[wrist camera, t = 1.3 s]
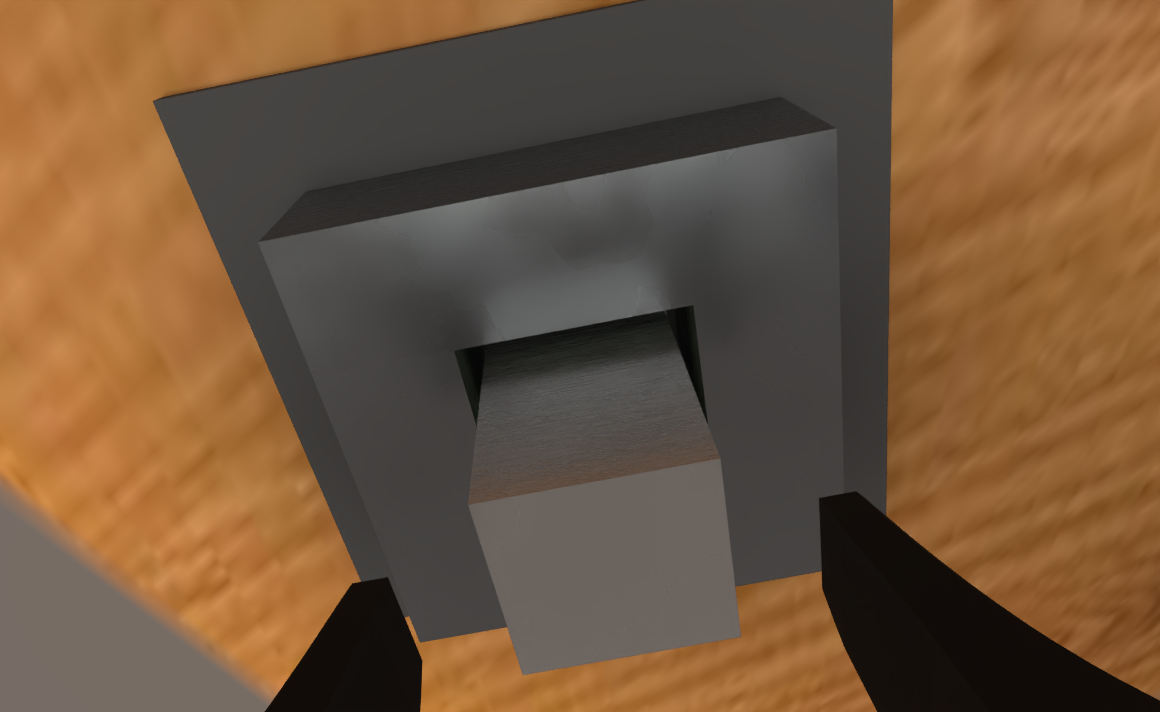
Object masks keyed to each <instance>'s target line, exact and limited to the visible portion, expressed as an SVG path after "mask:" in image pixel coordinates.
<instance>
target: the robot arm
mask: <svg viewBox="0 0 1160 712" xmlns="http://www.w3.org/2000/svg"><path fill="white" fill-rule="evenodd" d="M819 514H820V539H821V565H822V589H823V592H824V594H825V597H826V600H827V603H828V605H829V608H830V611H831V613H832V616H833V619H834V622H835V624H836V627H837V629H838V632H839V634H840V637H841V640H842V642H843V645H844V647H845V649H846V651H847V653H848V655H849V657H850V659H851V661H852V663H853V665H854V667H855V669H856V671H857V673H858V675H859V677H860V679H861V681H862V683H863V685H864V687H865V689H866V691H867V693H868V695H869V696H870V698H871V700H872V702H873V704H874V706H875V708H876V710H877V712H1160V700H1158V699H1156V698H1154V697H1152V696H1150V695H1148V694H1146V693H1144V692H1142V691H1140V690H1138V689H1137V688H1135V687H1133V686H1131V685H1129V684H1127V683H1125V682H1123V681H1121V680H1119V679H1117V678H1116V677H1114V676H1112V675H1110V674H1108V673H1107V672H1105V671H1103V670H1101V669H1100V668H1098V667H1096V666H1094V665H1092V664H1091V663H1089V662H1087V661H1086V660H1084V659H1082V658H1081V657H1079V656H1077V655H1076V654H1074V653H1072V652H1071V651H1069V650H1067V649H1066V648H1064V647H1062V646H1061V645H1059V644H1058V643H1056V642H1054V641H1053V640H1051V639H1049V638H1048V637H1046V636H1045V635H1043V634H1042V633H1040V632H1039V631H1037V630H1035V629H1034V628H1032V627H1031V626H1029V625H1028V624H1026V623H1025V622H1023V621H1022V620H1020V619H1019V618H1018V617H1016V616H1015V615H1013V614H1012V613H1010V612H1009V611H1007V610H1006V609H1005V608H1003V607H1002V606H1000V605H999V604H997V603H996V602H995V601H993V600H992V599H990V598H989V597H988V596H986V595H985V594H983V593H982V592H981V591H979V590H978V589H977V588H975V587H974V586H973V585H971V584H970V583H968V582H967V581H966V580H965V579H963V578H962V577H961V576H959V575H958V574H957V573H956V572H954V571H953V570H952V569H950V568H949V567H948V566H946V565H945V564H944V563H943V562H941V561H940V560H939V559H937V558H936V557H935V556H934V555H932V554H931V553H930V552H929V551H927V550H926V549H925V548H924V547H922V546H921V545H920V544H919V543H918V542H916V541H915V540H914V539H913V538H912V537H910V536H909V535H908V534H907V533H906V532H904V531H903V530H902V529H901V528H900V527H898V526H897V525H896V524H895V523H894V522H893V521H891V520H890V519H889V518H888V517H887V516H886V515H884V514H883V513H882V512H881V511H880V510H879V509H877V508H876V507H875V506H874V505H873V504H872V503H871V502H869V501H868V500H867V499H866V498H865V497H864V496H862V495H861V494H860V493H858V492H857V491H854V492H849V493H843V494H838V495H832V496H827V497H821V498H819ZM421 683H422V659H421V656H420V654H419V652H418V649H417V647H416V644H415V642H414V639H413V637H412V635H411V632H410V630H409V627H408V625H407V622H406V620H405V618H404V615H403V613H402V610H401V608H400V605H399V603H398V600H397V598H396V596H395V593H394V591H393V588H392V586H391V583H390V581H389V579H388V577H385V578H380V579H374V580H369V581H363V582H358V583H352V585H351V586H350V587H349V589H348V590H347V592H346V593H345V595H344V596H343V598H342V599H341V600H340V602H339V603H338V605H337V606H336V608H335V609H334V611H333V613H332V614H331V616H330V617H329V619H328V620H327V622H326V623H325V625H324V626H323V628H322V629H321V631H320V632H319V634H318V635H317V637H316V638H315V640H314V641H313V643H312V644H311V646H310V647H309V649H308V650H307V652H306V653H305V655H304V656H303V658H302V659H301V661H300V662H299V664H298V665H297V666H296V668H295V669H294V671H293V672H292V674H291V675H290V677H289V678H288V679H287V681H286V682H285V684H284V685H283V687H282V688H281V690H280V691H279V692H278V694H277V695H276V697H275V698H274V700H273V701H272V702H271V704H270V705H269V707H268V708H267V709H266V711H265V712H420V705H421Z"/></svg>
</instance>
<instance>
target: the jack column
mask: <svg viewBox="0 0 1160 712" xmlns="http://www.w3.org/2000/svg"><path fill="white" fill-rule="evenodd" d="M468 506H469V509H470V512H471V515H472V519H473V522H474V525H475V528H476V531H477V534H478V537H479V540H480V543H481V547H482V550H483V553H484V556H485V559H486V562H487V565H488V568H489V571H490V574H491V578H492V581H493V584H494V587H495V590H496V593H497V596H498V599H499V602H500V606H501V609H502V612H503V615H504V618H505V621H506V624H507V627H508V630H509V634H510V637H511V640H512V643H513V646H514V649H515V652H516V655H517V658H518V661H519V665H520V668H521V671H522V674H523V675H526V674H532V673H537V672H543V671H549V670H555V669H560V668H566V667H572V666H577V665H583V664H589V663H595V662H600V661H606V660H612V659H617V658H623V657H629V656H634V655H640V654H646V653H652V652H657V651H663V650H669V649H674V648H680V647H686V646H692V645H697V644H703V643H709V642H714V641H720V640H726V639H732V638H737V637H741V633H740V624H739V616H738V607H737V598H736V590H735V581H734V572H733V564H732V555H731V546H730V537H729V529H728V520H727V511H726V503H725V494H724V485H723V477H722V468H721V459H720V456H719V454H718V451H717V448H716V446H715V443H714V440H713V438H712V435H711V432H710V430H709V427H708V424H707V422H706V419H705V416H704V414H703V411H702V409H701V406H700V403H699V401H698V398H697V395H696V393H695V390H694V387H693V385H692V382H691V379H690V377H689V374H688V371H687V369H686V366H685V364H684V361H683V358H682V356H681V353H680V350H679V348H678V345H677V342H676V340H675V337H674V334H673V332H672V329H671V326H670V324H669V321H668V319H667V314H666V310H664V311H659V312H654V313H649V314H643V315H638V316H633V317H628V318H622V319H617V320H612V321H607V322H601V323H596V324H591V325H586V326H580V327H575V328H570V329H565V330H559V331H554V332H549V333H544V334H538V335H533V336H528V337H523V338H517V339H512V340H507V341H502V342H496V343H491V344H486V349H485V358H484V367H483V376H482V385H481V394H480V402H479V411H478V420H477V429H476V438H475V447H474V456H473V465H472V474H471V483H470V492H469V501H468Z"/></svg>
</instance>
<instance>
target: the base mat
mask: <svg viewBox="0 0 1160 712" xmlns="http://www.w3.org/2000/svg"><path fill="white" fill-rule="evenodd" d="M892 26H893V0H636V1H631V2H627V3H622V4H617V5H612V6H607V7H602V8H597V9H592V10H587V11H583V12H578V13H573V14H568V15H563V16H558V17H553V18H548V19H543V20H539V21H534V22H529V23H524V24H519V25H514V26H509V27H504V28H499V29H494V30H490V31H485V32H480V33H475V34H470V35H465V36H460V37H455V38H450V39H446V40H441V41H436V42H431V43H426V44H421V45H416V46H411V47H406V48H401V49H397V50H392V51H387V52H382V53H377V54H372V55H367V56H362V57H357V58H353V59H348V60H343V61H338V62H333V63H328V64H323V65H318V66H313V67H308V68H304V69H299V70H294V71H289V72H284V73H279V74H274V75H269V76H264V77H260V78H255V79H250V80H245V81H240V82H235V83H230V84H225V85H220V86H215V87H211V88H206V89H201V90H196V91H191V92H186V93H181V94H176V95H171V96H167V97H162V98H160V99H157V100H154V101H153V103H154V105H155V107H156V110H157V112H158V114H159V117H160V119H161V121H162V124H163V126H164V128H165V131H166V133H167V135H168V137H169V140H170V142H171V144H172V147H173V149H174V151H175V154H176V156H177V158H178V160H179V163H180V165H181V167H182V170H183V172H184V174H185V177H186V179H187V181H188V183H189V186H190V188H191V190H192V193H193V195H194V197H195V200H196V202H197V204H198V207H199V209H200V211H201V213H202V216H203V218H204V220H205V223H206V225H207V227H208V230H209V232H210V234H211V236H212V239H213V241H214V243H215V246H216V248H217V250H218V253H219V255H220V257H221V260H222V262H223V264H224V266H225V269H226V271H227V273H228V276H229V278H230V280H231V283H232V285H233V287H234V289H235V292H236V294H237V296H238V299H239V301H240V303H241V306H242V308H243V310H244V312H245V315H246V317H247V319H248V322H249V324H250V326H251V329H252V331H253V333H254V336H255V338H256V340H257V342H258V345H259V347H260V349H261V352H262V354H263V356H264V359H265V361H266V363H267V365H268V368H269V370H270V372H271V375H272V377H273V379H274V382H275V384H276V386H277V388H278V391H279V393H280V395H281V398H282V400H283V402H284V405H285V407H286V409H287V412H288V414H289V416H290V418H291V421H292V423H293V425H294V428H295V430H296V432H297V435H298V437H299V439H300V441H301V444H302V446H303V448H304V451H305V453H306V455H307V458H308V460H309V462H310V465H311V467H312V469H313V471H314V474H315V476H316V478H317V481H318V483H319V485H320V488H321V490H322V492H323V494H324V497H325V499H326V501H327V504H328V506H329V508H330V511H331V513H332V515H333V517H334V520H335V522H336V524H337V527H338V529H339V531H340V534H341V536H342V538H343V541H344V543H345V545H346V547H347V550H348V552H349V554H350V557H351V559H352V561H353V564H354V566H355V568H356V570H357V573H358V575H359V577H360V580H361V582H363V581H369V580H374V579H380V578H385V577H388V579H389V581H390V583H391V586H392V588H393V591H394V593H395V596H396V598H397V600H398V603H399V605H400V608H401V610H402V613H403V615H404V617H408V616H409V614H408V612H407V609H406V607H405V604H404V602H403V599H402V597H401V594H400V592H399V589H398V587H397V584H396V582H395V579H394V577H393V575H392V572H391V570H390V567H389V565H388V562H387V560H386V557H385V555H384V552H383V550H382V547H381V545H380V542H379V540H378V537H377V535H376V533H375V530H374V528H373V525H372V523H371V520H370V518H369V515H368V513H367V510H366V508H365V505H364V503H363V500H362V498H361V496H360V493H359V491H358V488H357V486H356V483H355V481H354V478H353V476H352V473H351V471H350V468H349V466H348V463H347V461H346V458H345V456H344V454H343V451H342V449H341V446H340V444H339V441H338V439H337V436H336V434H335V431H334V429H333V426H332V424H331V421H330V419H329V417H328V414H327V412H326V409H325V407H324V404H323V402H322V399H321V397H320V394H319V392H318V389H317V387H316V384H315V382H314V379H313V377H312V375H311V372H310V370H309V367H308V365H307V362H306V360H305V357H304V355H303V352H302V350H301V347H300V345H299V342H298V340H297V338H296V335H295V333H294V330H293V328H292V325H291V323H290V320H289V318H288V315H287V313H286V310H285V308H284V305H283V303H282V300H281V298H280V296H279V293H278V291H277V288H276V286H275V283H274V281H273V278H272V276H271V273H270V271H269V268H268V266H267V263H266V261H265V259H264V256H263V254H262V251H261V249H260V246H259V244H258V242H259V241H260V239H261V238H262V237H263V236H264V235H265V234H266V233H267V232H268V231H269V230H270V229H271V228H272V227H273V226H274V225H275V224H276V222H277V221H278V220H279V219H280V218H281V217H282V216H283V215H284V214H285V213H286V212H287V211H288V210H289V209H290V208H291V207H292V205H293V204H294V203H295V202H296V201H297V200H298V199H299V198H300V197H301V196H302V195H303V194H304V193H305V192H306V191H309V190H314V189H319V188H324V187H329V186H334V185H339V184H344V183H349V182H354V181H359V180H364V179H369V178H374V177H379V176H384V175H389V174H395V173H400V172H405V171H410V170H415V169H420V168H425V167H430V166H435V165H440V164H445V163H450V162H455V161H460V160H465V159H470V158H475V157H480V156H485V155H490V154H495V153H500V152H505V151H510V150H515V149H520V148H525V147H530V146H535V145H540V144H545V143H550V142H556V141H561V140H566V139H571V138H576V137H581V136H586V135H591V134H596V133H601V132H606V131H611V130H616V129H621V128H626V127H631V126H636V125H641V124H646V123H651V122H656V121H661V120H666V119H671V118H676V117H681V116H686V115H691V114H696V113H701V112H706V111H711V110H717V109H722V108H727V107H732V106H737V105H742V104H747V103H752V102H757V101H762V100H767V99H772V98H777V97H782V98H784V99H786V100H788V101H790V102H791V103H793V104H795V105H797V106H798V107H800V108H802V109H804V110H805V111H807V112H809V113H811V114H812V115H814V116H816V117H818V118H819V119H821V120H823V121H825V122H826V123H828V124H830V125H832V126H833V127H835V128H837V172H838V221H839V271H840V320H841V369H842V419H843V468H844V493H849V492H854V491H857V492H858V493H860V494H861V495H862V496H864V497H865V498H866V499H867V500H868V501H869V502H871V503H872V504H873V505H874V506H875V507H876V508H877V509H879V510H880V511H881V512H882V513H883V514H884V515H886V477H887V402H888V327H889V251H890V176H891V101H892ZM666 314H667V319H668V321H669V324H670V326H671V329H672V332H673V334H674V337H675V340H676V342H677V345H678V348H679V350H680V345H679V338H678V330H677V323H676V315H675V309H670V310H666ZM483 347H484V351H485V349H486V345H483ZM680 353H681V352H680Z"/></svg>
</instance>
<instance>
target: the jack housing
mask: <svg viewBox="0 0 1160 712" xmlns="http://www.w3.org/2000/svg"><path fill="white" fill-rule="evenodd" d="M258 244H259V246H260V249H261V251H262V254H263V256H264V259H265V261H266V263H267V266H268V268H269V271H270V273H271V276H272V278H273V281H274V283H275V286H276V288H277V291H278V293H279V296H280V298H281V300H282V303H283V305H284V308H285V310H286V313H287V315H288V318H289V320H290V323H291V325H292V328H293V330H294V333H295V335H296V338H297V340H298V342H299V345H300V347H301V350H302V352H303V355H304V357H305V360H306V362H307V365H308V367H309V370H310V372H311V375H312V377H313V379H314V382H315V384H316V387H317V389H318V392H319V394H320V397H321V399H322V402H323V404H324V407H325V409H326V412H327V414H328V417H329V419H330V421H331V424H332V426H333V429H334V431H335V434H336V436H337V439H338V441H339V444H340V446H341V449H342V451H343V454H344V456H345V458H346V461H347V463H348V466H349V468H350V471H351V473H352V476H353V478H354V481H355V483H356V486H357V488H358V491H359V493H360V496H361V498H362V500H363V503H364V505H365V508H366V510H367V513H368V515H369V518H370V520H371V523H372V525H373V528H374V530H375V533H376V535H377V537H378V540H379V542H380V545H381V547H382V550H383V552H384V555H385V557H386V560H387V562H388V565H389V567H390V570H391V572H392V575H393V577H394V579H395V582H396V584H397V587H398V589H399V592H400V594H401V597H402V599H403V602H404V604H405V607H406V609H407V612H408V614H409V616H410V619H411V621H412V624H413V626H414V629H415V631H416V634H417V636H418V639H419V641H420V642H425V641H431V640H437V639H442V638H448V637H454V636H459V635H465V634H471V633H476V632H482V631H487V630H493V629H499V628H504V627H507V624H506V621H505V618H504V615H503V612H502V609H501V606H500V602H499V599H498V596H497V593H496V590H495V587H494V584H493V581H492V578H491V574H490V571H489V568H488V565H487V562H486V559H485V556H484V553H483V550H482V547H481V543H480V540H479V537H478V534H477V531H476V528H475V525H474V522H473V519H472V515H471V512H470V509H469V506H468V501H469V492H470V483H471V474H472V465H473V456H474V447H475V438H476V429H477V420H478V411H479V402H480V394H481V385H482V376H483V367H484V358H485V351H484V347H483V345H486V344H491V343H496V342H502V341H507V340H512V339H517V338H523V337H528V336H533V335H538V334H544V333H549V332H554V331H559V330H565V329H570V328H575V327H580V326H586V325H591V324H596V323H601V322H607V321H612V320H617V319H622V318H628V317H633V316H638V315H643V314H649V313H654V312H659V311H664V310H670V309H675V315H676V323H677V330H678V338H679V345H680V352H681V356H682V358H683V361H684V364H685V366H686V369H687V371H688V374H689V377H690V379H691V382H692V385H693V387H694V390H695V393H696V395H697V398H698V401H699V403H700V406H701V409H702V411H703V414H704V416H705V419H706V422H707V424H708V427H709V430H710V432H711V435H712V438H713V440H714V443H715V446H716V448H717V451H718V454H719V456H720V459H721V468H722V477H723V485H724V494H725V503H726V511H727V520H728V529H729V537H730V546H731V555H732V564H733V572H734V581H735V586H741V585H747V584H752V583H758V582H764V581H769V580H775V579H780V578H786V577H792V576H797V575H803V574H809V573H814V572H820V571H822V565H821V539H820V514H819V498H821V497H827V496H832V495H838V494H843V493H844V468H843V419H842V369H841V320H840V271H839V221H838V172H837V128H835V127H833V126H832V125H830V124H828V123H826V122H825V121H823V120H821V119H819V118H818V117H816V116H814V115H812V114H811V113H809V112H807V111H805V110H804V109H802V108H800V107H798V106H797V105H795V104H793V103H791V102H790V101H788V100H786V99H784V98H782V97H777V98H772V99H767V100H762V101H757V102H752V103H747V104H742V105H737V106H732V107H727V108H722V109H717V110H711V111H706V112H701V113H696V114H691V115H686V116H681V117H676V118H671V119H666V120H661V121H656V122H651V123H646V124H641V125H636V126H631V127H626V128H621V129H616V130H611V131H606V132H601V133H596V134H591V135H586V136H581V137H576V138H571V139H566V140H561V141H556V142H550V143H545V144H540V145H535V146H530V147H525V148H520V149H515V150H510V151H505V152H500V153H495V154H490V155H485V156H480V157H475V158H470V159H465V160H460V161H455V162H450V163H445V164H440V165H435V166H430V167H425V168H420V169H415V170H410V171H405V172H400V173H395V174H389V175H384V176H379V177H374V178H369V179H364V180H359V181H354V182H349V183H344V184H339V185H334V186H329V187H324V188H319V189H314V190H309V191H306V192H305V193H304V194H303V195H302V196H301V197H300V198H299V199H298V200H297V201H296V202H295V203H294V204H293V205H292V207H291V208H290V209H289V210H288V211H287V212H286V213H285V214H284V215H283V216H282V217H281V218H280V219H279V220H278V221H277V222H276V224H275V225H274V226H273V227H272V228H271V229H270V230H269V231H268V232H267V233H266V234H265V235H264V236H263V237H262V238H261V239H260V241H259V242H258Z"/></svg>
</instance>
